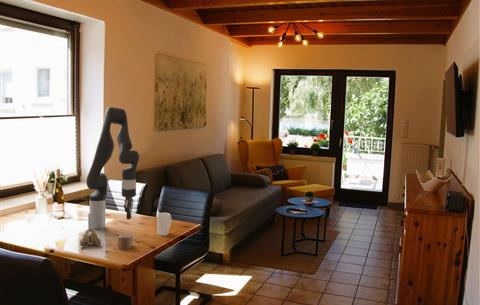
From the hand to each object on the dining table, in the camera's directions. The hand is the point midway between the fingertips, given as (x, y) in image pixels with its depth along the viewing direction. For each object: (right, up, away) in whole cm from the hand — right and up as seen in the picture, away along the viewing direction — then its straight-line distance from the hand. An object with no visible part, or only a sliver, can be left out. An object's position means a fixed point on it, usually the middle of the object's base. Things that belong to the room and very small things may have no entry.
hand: (128, 218), depth 245 cm
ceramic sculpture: (-20, -13, -3) cm, 24 cm away
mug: (+16, -12, +21) cm, 29 cm away
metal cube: (0, -11, -3) cm, 11 cm away
